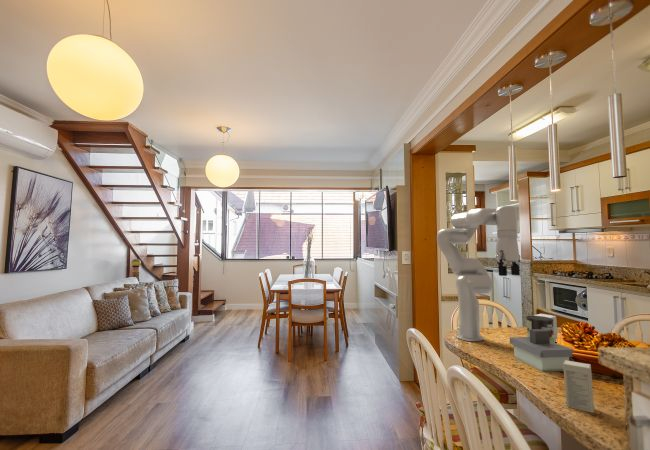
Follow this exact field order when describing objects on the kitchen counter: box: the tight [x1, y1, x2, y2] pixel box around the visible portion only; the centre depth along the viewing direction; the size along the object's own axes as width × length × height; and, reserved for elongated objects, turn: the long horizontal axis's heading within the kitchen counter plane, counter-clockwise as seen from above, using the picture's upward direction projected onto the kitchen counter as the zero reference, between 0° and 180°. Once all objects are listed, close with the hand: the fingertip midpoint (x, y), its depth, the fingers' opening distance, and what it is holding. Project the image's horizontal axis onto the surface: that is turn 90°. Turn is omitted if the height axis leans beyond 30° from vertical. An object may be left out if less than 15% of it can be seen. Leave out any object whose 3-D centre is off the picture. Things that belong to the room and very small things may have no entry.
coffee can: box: [525, 315, 554, 342], centre depth 146 cm, size 10×10×14 cm
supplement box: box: [532, 313, 558, 342], centre depth 158 cm, size 7×7×13 cm
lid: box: [509, 329, 574, 358], centre depth 128 cm, size 17×13×8 cm
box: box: [513, 345, 570, 373], centre depth 128 cm, size 15×11×7 cm
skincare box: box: [563, 360, 595, 413], centre depth 94 cm, size 6×4×12 cm
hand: (509, 275), depth 137 cm, fingers open, 9 cm apart
